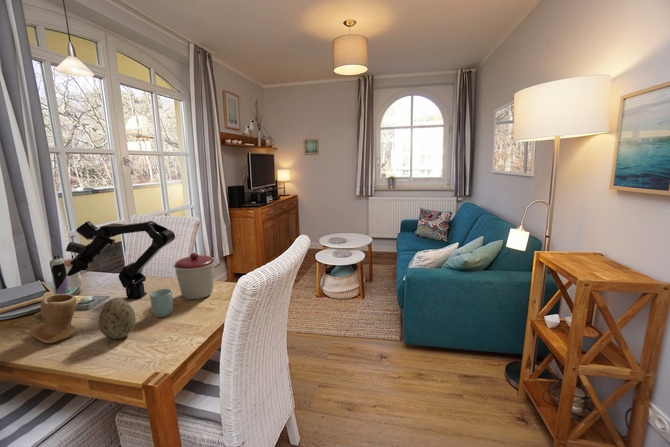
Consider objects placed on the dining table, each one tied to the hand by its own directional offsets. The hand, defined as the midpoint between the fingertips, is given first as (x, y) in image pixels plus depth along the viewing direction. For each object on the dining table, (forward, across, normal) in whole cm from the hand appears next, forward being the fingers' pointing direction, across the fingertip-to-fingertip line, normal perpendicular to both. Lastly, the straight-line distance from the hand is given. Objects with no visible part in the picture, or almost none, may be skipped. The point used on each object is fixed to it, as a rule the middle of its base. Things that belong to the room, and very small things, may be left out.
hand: (69, 273), depth 134 cm
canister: (-25, +18, +45) cm, 55 cm away
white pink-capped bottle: (+3, 0, +5) cm, 6 cm away
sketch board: (+7, +3, +12) cm, 14 cm away
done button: (+4, +7, +12) cm, 15 cm away
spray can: (+14, -10, +6) cm, 18 cm away
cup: (-15, +32, +35) cm, 49 cm away
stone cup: (+9, +30, +11) cm, 33 cm away
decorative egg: (-5, +42, +25) cm, 50 cm away
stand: (+13, +13, +6) cm, 19 cm away
